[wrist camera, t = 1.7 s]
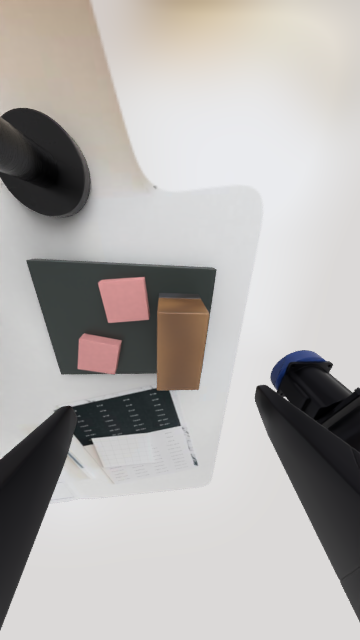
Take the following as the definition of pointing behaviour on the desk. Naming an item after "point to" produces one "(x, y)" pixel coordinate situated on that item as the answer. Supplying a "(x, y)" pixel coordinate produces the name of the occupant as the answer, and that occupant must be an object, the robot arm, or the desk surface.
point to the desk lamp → (42, 164)
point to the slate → (89, 314)
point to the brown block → (180, 340)
